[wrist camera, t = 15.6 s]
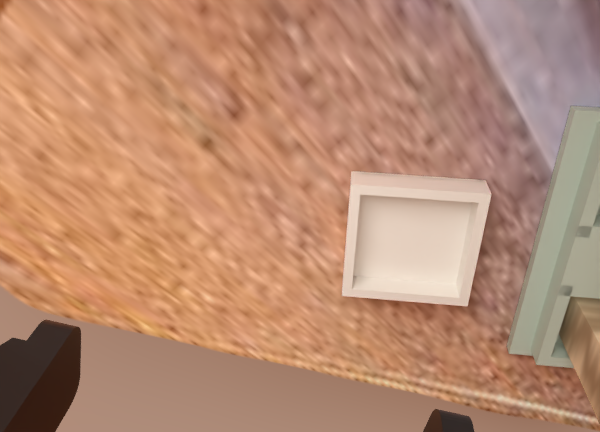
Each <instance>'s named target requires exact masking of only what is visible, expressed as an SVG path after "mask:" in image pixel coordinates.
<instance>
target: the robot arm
mask: <svg viewBox="0 0 600 432" xmlns="http://www.w3.org/2000/svg"><path fill="white" fill-rule="evenodd" d="M80 358H81V330H80V328H79V327H76V326H71V325H67V324H63V323H58V322H54V321H50V320H44V321H42V322H41V323H40V324H39V325H38V327H37V328H36V329H35V330H34V332H33V333H32V334H31V336H30V337H29V338H28V340H27V341H25V340H21V339H16V338H12V339H10V340H8V341H7V342H5V343H3V344H2V345H0V432H55V431H56V429H57V428H58V426H59V424H60V423H61V421H62V419H63V417H64V416H65V414H66V412H67V411H68V409H69V407H70V405H71V403H72V402H73V399H74V397H75V394H76V392H77V389H78V385H79V380H80ZM423 432H474V429H473V424H472V421H471V419H470V417H469V416H464V415H460V414H456V413H451V412H447V411H442V410H438V409H435V410H434V411H433V412H432V414H431V416H430V418H429V420H428V422H427V425H426V427H425V429H424V431H423Z"/></svg>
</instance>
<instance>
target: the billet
mask: <svg viewBox="0 0 600 432" xmlns="http://www.w3.org/2000/svg"><path fill="white" fill-rule="evenodd" d="M559 335H560V338H561V340H562V342H563V344H564V347H565V349H566V351H567V353H568V355H569V358H570V360H571V362H572V364H573V366H574V369H575V371H576V373H577V375H578V377H579V380H580V382H581V384H582V386H583V389H584V391H585V393H586V395H587V397H588V400H589V402H590V404H591V406H592V408H593V411H594V413H595V415H596V417H597V419H598V422H599V424H600V299H598V298H585V297H573V296H571V297H570V300H569V304H568V307H567V310H566V313H565V316H564V319H563V322H562V325H561V328H560V332H559Z"/></svg>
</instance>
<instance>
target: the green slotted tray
mask: <svg viewBox="0 0 600 432" xmlns="http://www.w3.org/2000/svg"><path fill="white" fill-rule="evenodd" d="M571 296H573V297H585V298H598V299H600V108H599V107H582V106H571V107H570V111H569V115H568V119H567V122H566V126H565V130H564V134H563V137H562V141H561V145H560V148H559V152H558V156H557V160H556V163H555V167H554V171H553V175H552V178H551V182H550V186H549V190H548V193H547V197H546V201H545V205H544V208H543V212H542V216H541V219H540V223H539V227H538V231H537V234H536V238H535V242H534V246H533V249H532V253H531V257H530V261H529V264H528V268H527V272H526V276H525V279H524V283H523V287H522V290H521V294H520V298H519V302H518V305H517V309H516V313H515V317H514V320H513V324H512V328H511V332H510V335H509V339H508V343H507V349H508V352H509V354H519V355H530V356H533V357H534V360H535V363H536V365H545V366H556V367H567V368H574V366H573V364H572V362H571V360H570V358H569V355H568V353H567V351H566V349H565V347H564V344H563V342H562V340H561V338H560V335H559V332H560V328H561V325H562V322H563V319H564V316H565V313H566V310H567V307H568V304H569V300H570V297H571Z"/></svg>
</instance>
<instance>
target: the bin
mask: <svg viewBox="0 0 600 432" xmlns="http://www.w3.org/2000/svg"><path fill="white" fill-rule="evenodd" d="M490 199H491V192H490V189H489V187H488V185H487V183H486V180H477V179H462V178H447V177H432V176H417V175H402V174H387V173H373V172H358V171H351V182H350V195H349V207H348V220H347V232H346V245H345V257H344V270H343V283H342V296H348V297H360V298H372V299H384V300H396V301H408V302H420V303H432V304H444V305H456V306H468V301H469V297H470V292H471V288H472V283H473V278H474V274H475V269H476V264H477V260H478V255H479V250H480V246H481V241H482V236H483V232H484V227H485V222H486V218H487V213H488V208H489V204H490Z"/></svg>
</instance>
